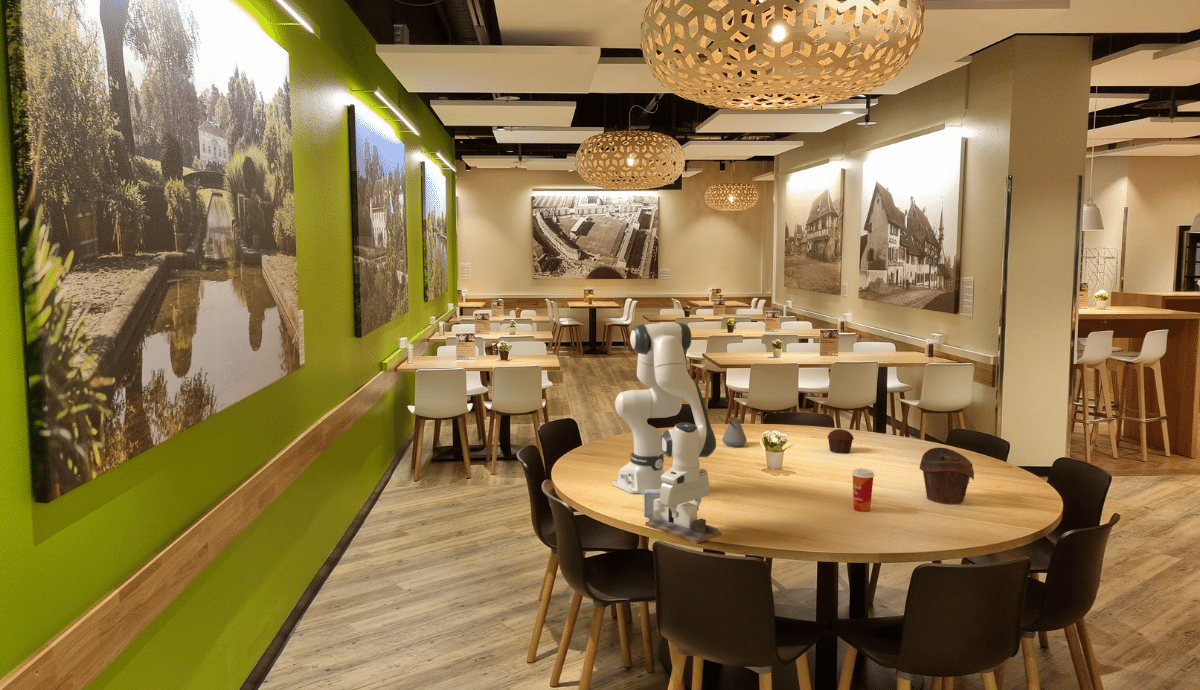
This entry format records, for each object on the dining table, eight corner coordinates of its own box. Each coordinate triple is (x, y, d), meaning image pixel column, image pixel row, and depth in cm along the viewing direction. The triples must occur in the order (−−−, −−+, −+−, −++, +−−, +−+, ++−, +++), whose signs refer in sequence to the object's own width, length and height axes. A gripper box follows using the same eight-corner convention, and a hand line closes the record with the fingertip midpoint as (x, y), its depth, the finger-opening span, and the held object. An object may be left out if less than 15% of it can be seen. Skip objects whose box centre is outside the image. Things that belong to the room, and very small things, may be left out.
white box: (689, 531, 263) (689, 507, 262) (672, 525, 269) (672, 502, 268) (696, 529, 265) (697, 505, 265) (679, 523, 271) (680, 500, 270)
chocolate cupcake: (954, 510, 288) (957, 461, 286) (906, 496, 304) (909, 449, 303) (984, 503, 297) (987, 455, 295) (936, 490, 314) (939, 444, 312)
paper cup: (847, 505, 293) (849, 468, 292) (869, 506, 293) (870, 468, 291) (853, 512, 286) (855, 474, 284) (876, 513, 285) (877, 474, 284)
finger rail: (645, 525, 273) (645, 502, 272) (670, 517, 280) (670, 495, 279) (696, 543, 255) (696, 518, 254) (721, 534, 263) (721, 511, 262)
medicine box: (665, 512, 286) (665, 489, 285) (667, 517, 281) (667, 492, 280) (643, 513, 285) (643, 489, 284) (644, 517, 281) (644, 492, 280)
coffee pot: (724, 441, 393) (725, 411, 391) (748, 443, 389) (749, 412, 387) (716, 452, 373) (716, 419, 371) (741, 454, 369) (741, 421, 367)
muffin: (823, 452, 373) (824, 430, 372) (831, 447, 382) (832, 426, 381) (849, 455, 366) (849, 433, 365) (856, 450, 375) (857, 429, 374)
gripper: (700, 465, 274) (699, 505, 276) (657, 476, 261) (656, 518, 262) (714, 469, 269) (713, 510, 271) (671, 480, 256) (670, 523, 257)
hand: (685, 514), depth 266 cm, fingers open, 8 cm apart
